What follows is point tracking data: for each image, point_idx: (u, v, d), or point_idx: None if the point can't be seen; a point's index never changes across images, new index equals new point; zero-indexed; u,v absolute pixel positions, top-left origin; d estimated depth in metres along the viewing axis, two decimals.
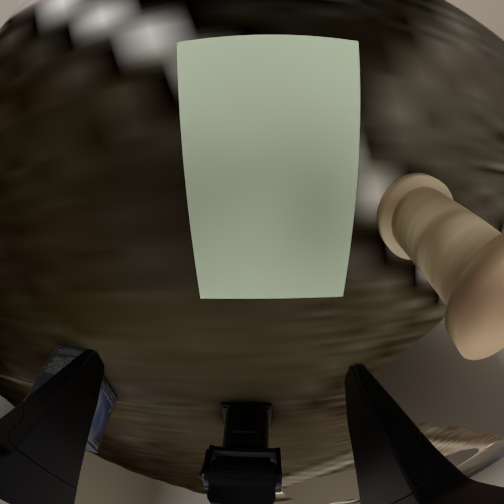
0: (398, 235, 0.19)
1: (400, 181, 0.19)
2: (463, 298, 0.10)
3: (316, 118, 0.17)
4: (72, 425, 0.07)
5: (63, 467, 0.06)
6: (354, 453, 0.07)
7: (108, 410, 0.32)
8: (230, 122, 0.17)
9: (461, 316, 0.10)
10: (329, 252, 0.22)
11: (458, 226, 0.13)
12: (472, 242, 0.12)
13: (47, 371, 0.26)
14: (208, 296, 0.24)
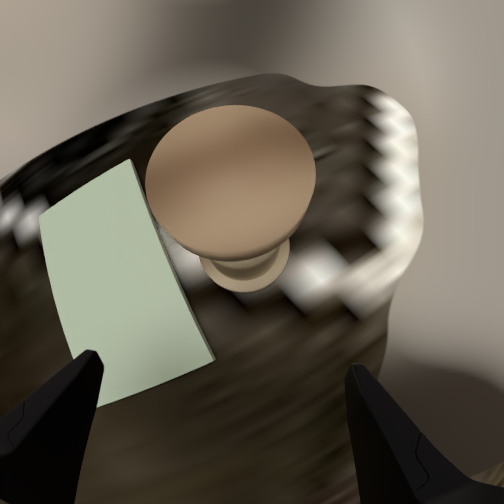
0: None
1: None
2: None
3: (117, 222, 0.24)
4: (72, 425, 0.07)
5: (63, 467, 0.06)
6: (354, 453, 0.07)
7: None
8: (70, 252, 0.23)
9: (152, 210, 0.11)
10: (171, 320, 0.21)
11: None
12: None
13: None
14: (99, 403, 0.20)
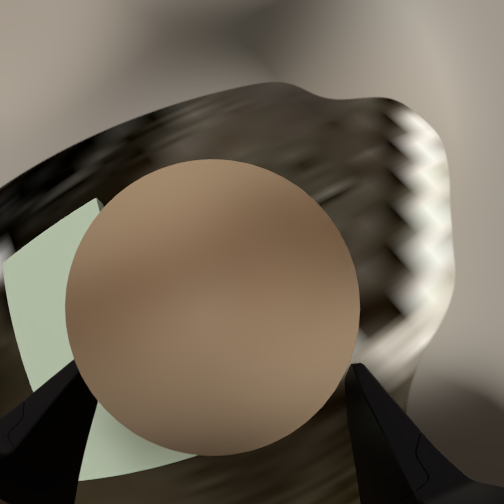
0: None
1: None
2: None
3: None
4: (72, 425, 0.07)
5: (63, 467, 0.06)
6: (354, 453, 0.07)
7: None
8: (35, 313, 0.18)
9: None
10: None
11: None
12: None
13: None
14: (82, 478, 0.14)
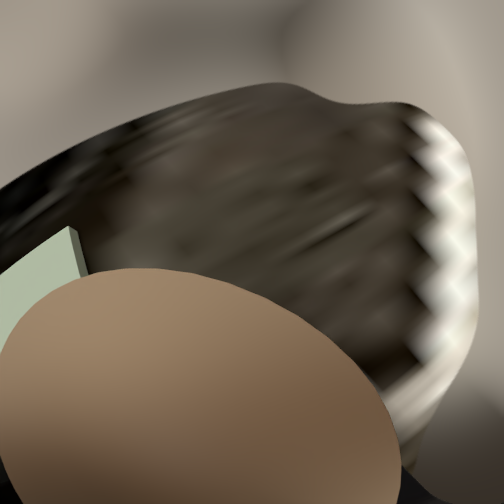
0: None
1: None
2: None
3: None
4: None
5: None
6: None
7: None
8: None
9: None
10: None
11: None
12: None
13: None
14: None
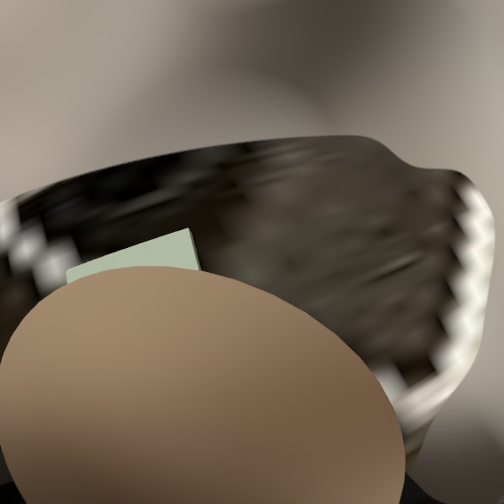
0: None
1: None
2: None
3: None
4: None
5: None
6: None
7: None
8: None
9: None
10: None
11: None
12: None
13: None
14: None
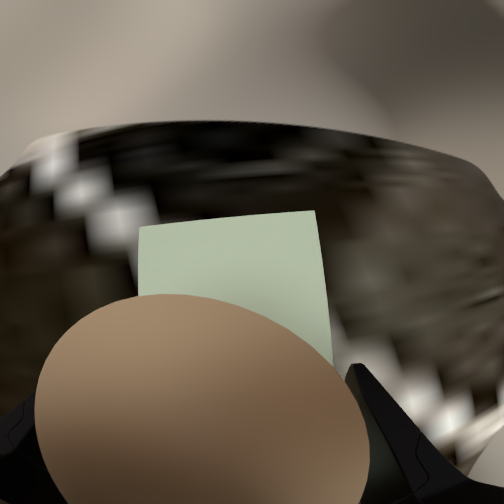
0: None
1: None
2: None
3: (278, 304, 0.17)
4: None
5: None
6: None
7: None
8: None
9: None
10: None
11: None
12: None
13: None
14: None
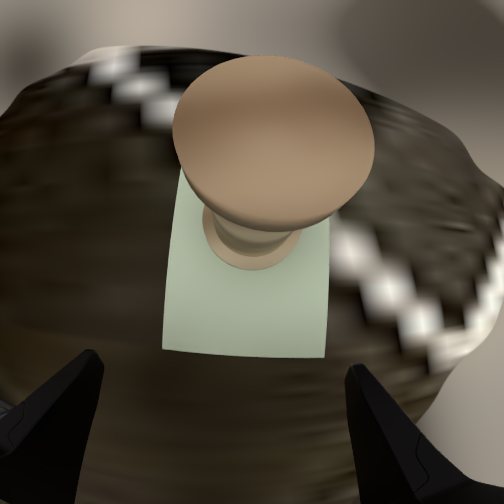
0: (218, 233, 0.19)
1: None
2: None
3: None
4: (72, 425, 0.07)
5: (63, 467, 0.06)
6: (354, 453, 0.07)
7: None
8: None
9: None
10: (307, 302, 0.21)
11: None
12: None
13: None
14: (171, 347, 0.20)
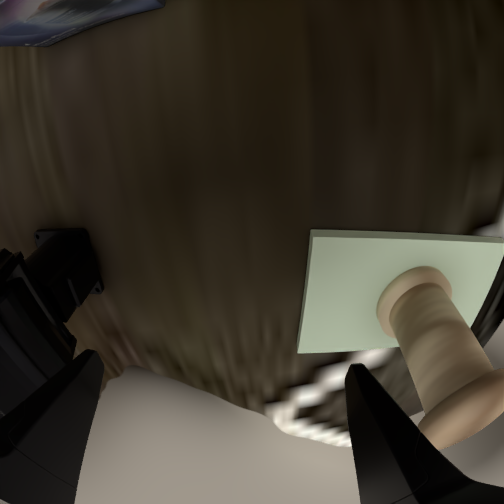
0: (416, 299, 0.19)
1: None
2: (491, 386, 0.10)
3: None
4: (72, 425, 0.07)
5: (63, 467, 0.06)
6: (354, 453, 0.07)
7: (30, 42, 0.10)
8: (455, 275, 0.21)
9: (484, 396, 0.10)
10: (344, 340, 0.25)
11: (478, 343, 0.14)
12: (488, 361, 0.13)
13: None
14: (315, 246, 0.20)
